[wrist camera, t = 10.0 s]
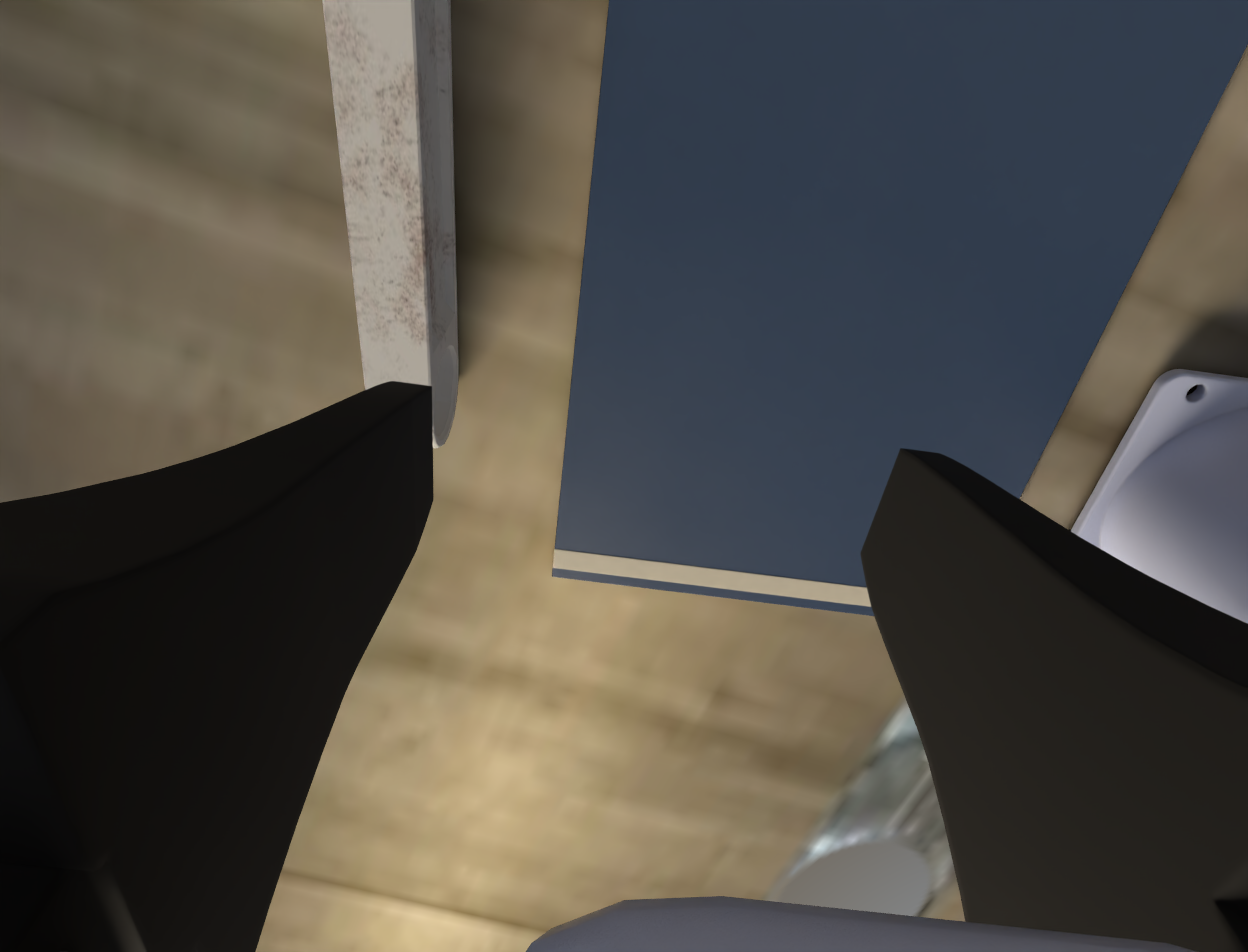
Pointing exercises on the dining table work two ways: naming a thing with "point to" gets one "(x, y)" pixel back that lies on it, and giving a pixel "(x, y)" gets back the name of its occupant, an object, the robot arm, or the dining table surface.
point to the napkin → (852, 262)
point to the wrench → (399, 189)
